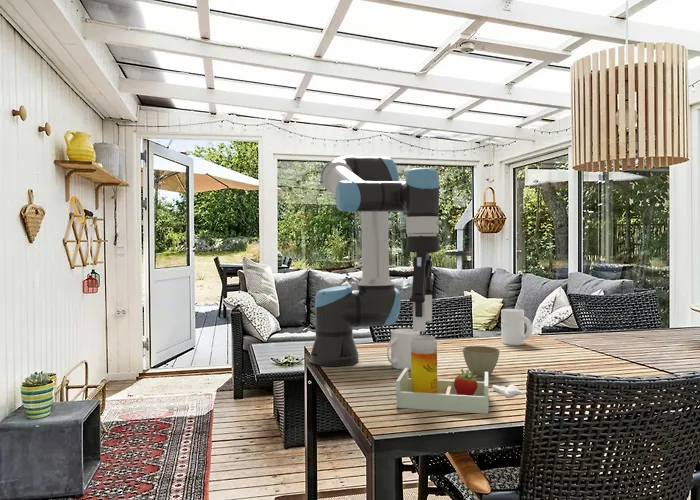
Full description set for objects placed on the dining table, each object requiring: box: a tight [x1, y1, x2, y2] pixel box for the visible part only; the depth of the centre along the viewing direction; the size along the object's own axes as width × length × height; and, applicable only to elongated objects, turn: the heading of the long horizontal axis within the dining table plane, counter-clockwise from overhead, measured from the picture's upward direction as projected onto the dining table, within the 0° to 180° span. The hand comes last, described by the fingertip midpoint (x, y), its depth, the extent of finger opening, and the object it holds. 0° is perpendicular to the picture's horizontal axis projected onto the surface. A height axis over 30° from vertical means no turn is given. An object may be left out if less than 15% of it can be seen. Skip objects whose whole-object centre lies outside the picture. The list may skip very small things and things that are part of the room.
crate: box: [395, 368, 490, 415], centre depth 123 cm, size 20×13×6 cm, turn 75°
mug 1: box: [386, 328, 421, 371], centre depth 158 cm, size 9×12×11 cm
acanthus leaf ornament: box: [492, 384, 527, 398], centre depth 131 cm, size 8×7×2 cm
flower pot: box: [462, 345, 501, 378], centre depth 149 cm, size 10×10×7 cm
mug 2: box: [500, 308, 534, 346], centre depth 193 cm, size 8×12×12 cm
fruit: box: [454, 368, 478, 396], centre depth 122 cm, size 5×5×8 cm
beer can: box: [410, 334, 438, 393], centre depth 124 cm, size 6×6×15 cm
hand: (423, 326), depth 125 cm, fingers open, 13 cm apart
